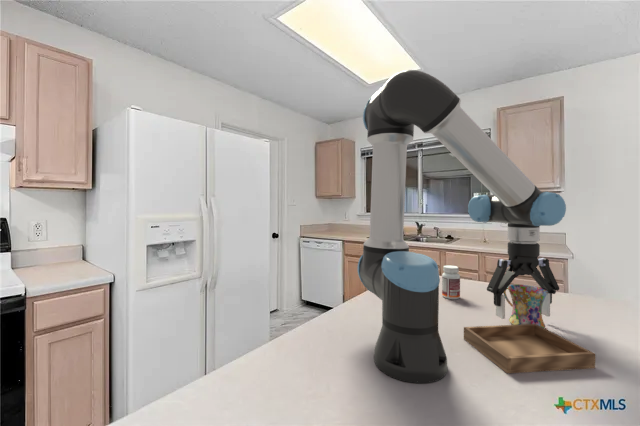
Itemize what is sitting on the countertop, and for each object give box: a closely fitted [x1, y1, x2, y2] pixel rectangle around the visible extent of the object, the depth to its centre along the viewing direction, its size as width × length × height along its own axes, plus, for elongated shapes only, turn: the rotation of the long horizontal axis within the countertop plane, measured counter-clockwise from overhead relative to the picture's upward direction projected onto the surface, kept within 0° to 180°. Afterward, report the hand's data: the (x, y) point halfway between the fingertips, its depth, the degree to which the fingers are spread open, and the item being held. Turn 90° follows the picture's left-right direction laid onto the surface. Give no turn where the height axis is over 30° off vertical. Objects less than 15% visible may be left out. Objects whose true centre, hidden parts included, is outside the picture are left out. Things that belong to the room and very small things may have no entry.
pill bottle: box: [441, 264, 461, 300], centre depth 110 cm, size 6×6×11 cm
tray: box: [463, 324, 596, 374], centre depth 69 cm, size 20×16×3 cm
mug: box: [503, 284, 548, 329], centre depth 85 cm, size 12×9×11 cm
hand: (522, 316), depth 85 cm, fingers open, 13 cm apart
